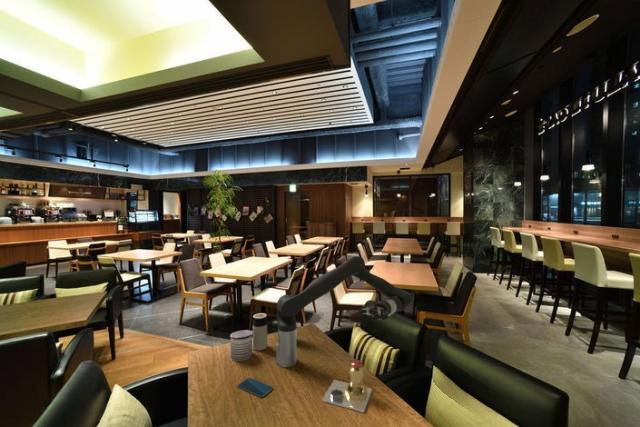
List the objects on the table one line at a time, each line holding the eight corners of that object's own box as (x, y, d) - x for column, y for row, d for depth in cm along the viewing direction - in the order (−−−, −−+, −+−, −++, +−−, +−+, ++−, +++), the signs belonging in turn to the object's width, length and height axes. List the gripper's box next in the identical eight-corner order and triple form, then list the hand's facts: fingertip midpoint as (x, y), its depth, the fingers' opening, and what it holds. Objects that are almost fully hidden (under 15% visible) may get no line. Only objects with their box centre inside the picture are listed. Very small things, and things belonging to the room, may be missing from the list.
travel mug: (263, 351, 149) (263, 318, 150) (250, 350, 151) (250, 317, 151) (269, 344, 157) (269, 313, 157) (256, 343, 159) (256, 312, 159)
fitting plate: (322, 401, 109) (322, 395, 110) (334, 381, 122) (334, 376, 122) (364, 412, 103) (364, 406, 103) (372, 390, 116) (372, 385, 116)
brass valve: (348, 394, 112) (348, 364, 112) (351, 387, 117) (352, 358, 117) (360, 398, 110) (361, 367, 110) (363, 390, 115) (364, 361, 115)
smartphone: (262, 399, 111) (262, 397, 111) (235, 387, 119) (235, 385, 119) (274, 389, 118) (274, 387, 118) (248, 378, 125) (248, 376, 125)
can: (229, 362, 139) (229, 338, 139) (231, 351, 150) (231, 329, 150) (252, 359, 141) (252, 336, 141) (252, 349, 152) (252, 327, 152)
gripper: (373, 297, 142) (353, 304, 131) (398, 303, 131) (377, 311, 120) (373, 311, 142) (353, 320, 131) (398, 319, 131) (378, 329, 120)
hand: (365, 316), depth 126 cm, fingers open, 8 cm apart
